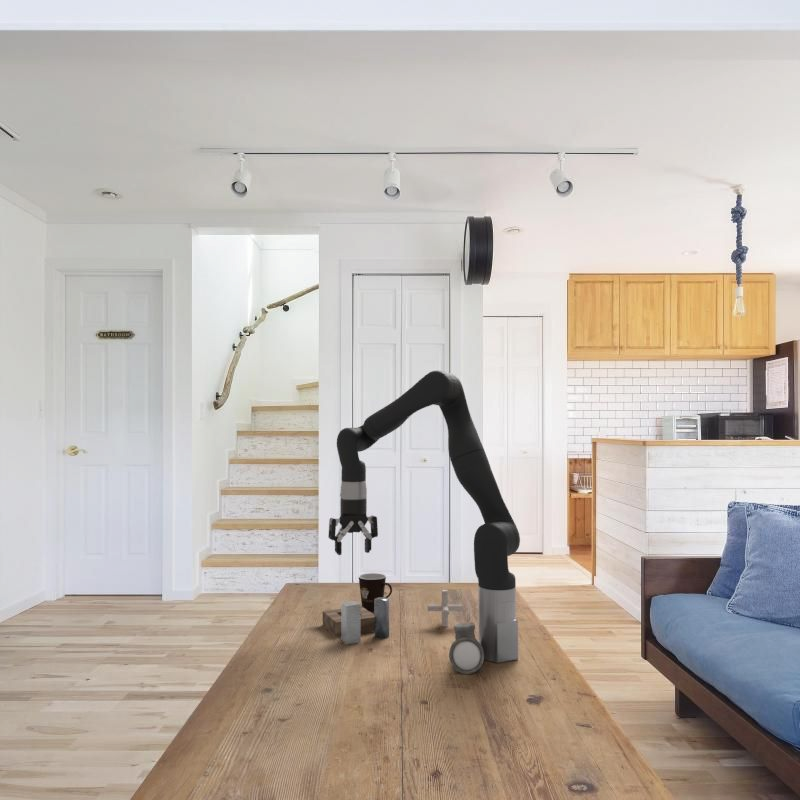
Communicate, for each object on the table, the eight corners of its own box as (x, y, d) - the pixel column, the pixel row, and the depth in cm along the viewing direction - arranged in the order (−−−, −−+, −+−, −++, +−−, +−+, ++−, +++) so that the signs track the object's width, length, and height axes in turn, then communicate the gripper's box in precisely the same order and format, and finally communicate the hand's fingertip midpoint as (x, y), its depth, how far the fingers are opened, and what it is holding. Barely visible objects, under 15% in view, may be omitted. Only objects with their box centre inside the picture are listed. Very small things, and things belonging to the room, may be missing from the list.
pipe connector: (463, 631, 181) (463, 595, 182) (428, 631, 181) (427, 595, 182) (461, 620, 191) (460, 586, 192) (427, 620, 191) (427, 586, 192)
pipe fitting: (485, 674, 149) (481, 627, 151) (450, 675, 150) (446, 629, 152) (485, 661, 161) (481, 618, 162) (453, 662, 162) (449, 620, 163)
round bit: (391, 637, 176) (391, 600, 177) (377, 639, 175) (377, 601, 175) (385, 633, 180) (385, 596, 180) (372, 635, 178) (372, 598, 179)
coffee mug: (354, 606, 206) (354, 574, 207) (379, 603, 210) (379, 572, 210) (368, 616, 196) (368, 582, 196) (394, 612, 200) (394, 579, 200)
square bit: (360, 642, 173) (360, 604, 173) (346, 644, 171) (346, 606, 171) (355, 637, 176) (355, 600, 177) (341, 639, 175) (341, 602, 175)
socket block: (377, 631, 182) (377, 616, 182) (336, 637, 177) (336, 622, 177) (361, 619, 193) (361, 606, 193) (322, 625, 187) (322, 611, 188)
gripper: (334, 499, 181) (333, 558, 180) (381, 497, 187) (381, 553, 186) (325, 496, 188) (325, 553, 187) (371, 494, 194) (371, 549, 193)
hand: (353, 553), depth 187 cm, fingers open, 8 cm apart
